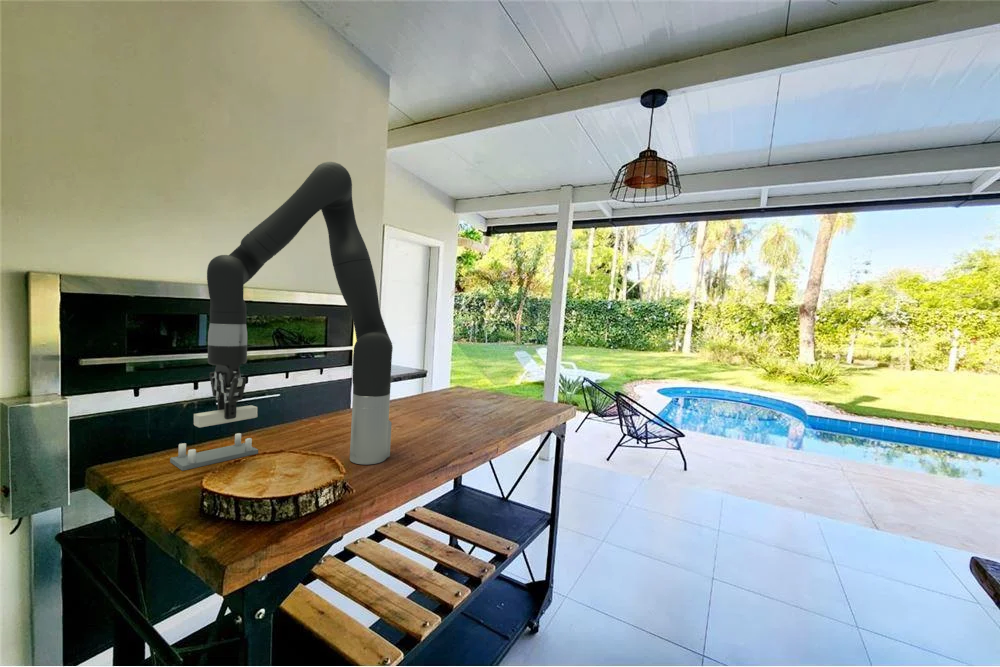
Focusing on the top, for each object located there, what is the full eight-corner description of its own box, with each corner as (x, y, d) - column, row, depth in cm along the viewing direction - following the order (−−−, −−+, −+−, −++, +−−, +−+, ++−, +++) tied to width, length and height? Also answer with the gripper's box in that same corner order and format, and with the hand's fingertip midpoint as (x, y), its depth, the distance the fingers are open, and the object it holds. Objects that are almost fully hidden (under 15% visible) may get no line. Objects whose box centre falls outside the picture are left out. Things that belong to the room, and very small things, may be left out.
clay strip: (251, 415, 99) (251, 405, 99) (257, 417, 98) (257, 407, 98) (193, 425, 89) (193, 413, 89) (199, 427, 88) (199, 416, 88)
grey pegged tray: (244, 446, 107) (244, 431, 107) (258, 453, 103) (258, 438, 103) (170, 462, 94) (170, 445, 94) (182, 470, 90) (182, 453, 90)
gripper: (260, 345, 92) (258, 419, 93) (232, 340, 100) (231, 409, 100) (223, 346, 86) (221, 426, 86) (196, 341, 94) (195, 414, 94)
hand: (226, 416), depth 93 cm, fingers closed on clay strip, 3 cm apart
